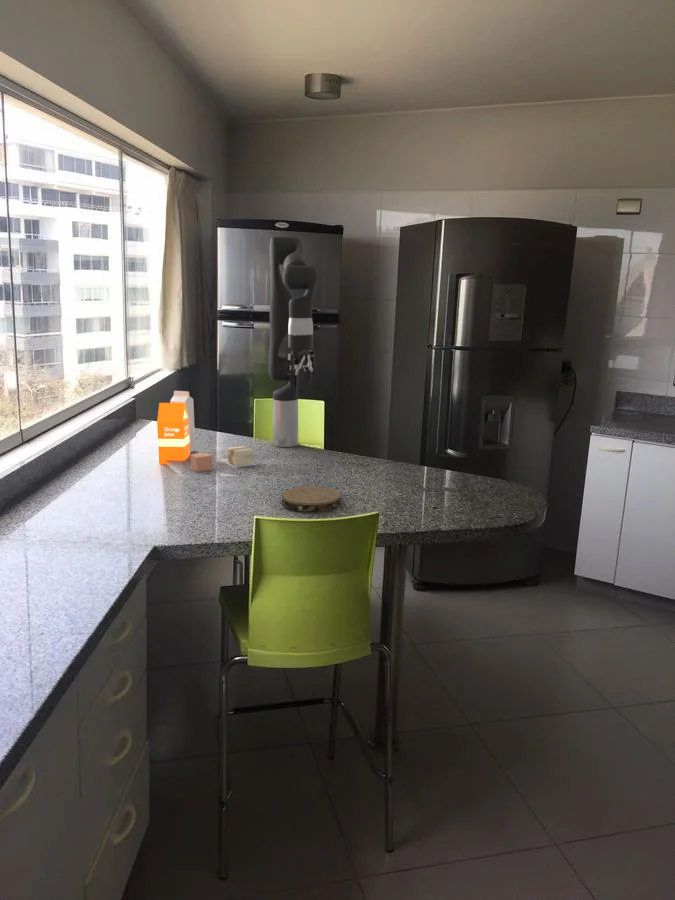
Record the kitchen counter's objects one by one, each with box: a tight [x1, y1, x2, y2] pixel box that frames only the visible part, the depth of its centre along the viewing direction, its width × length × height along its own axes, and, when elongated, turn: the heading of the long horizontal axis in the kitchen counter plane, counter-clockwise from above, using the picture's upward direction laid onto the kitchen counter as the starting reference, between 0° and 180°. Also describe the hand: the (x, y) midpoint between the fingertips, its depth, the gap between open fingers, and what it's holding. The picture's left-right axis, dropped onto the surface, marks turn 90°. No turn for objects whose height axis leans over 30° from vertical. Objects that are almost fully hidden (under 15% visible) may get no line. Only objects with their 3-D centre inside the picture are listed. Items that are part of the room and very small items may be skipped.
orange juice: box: [156, 402, 191, 465], centre depth 240 cm, size 8×9×20 cm
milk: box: [169, 390, 196, 454], centre depth 252 cm, size 6×6×22 cm
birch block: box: [227, 445, 254, 468], centre depth 234 cm, size 6×6×5 cm
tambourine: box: [281, 486, 341, 514], centre depth 196 cm, size 16×16×3 cm
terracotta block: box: [190, 452, 213, 473], centre depth 227 cm, size 5×5×6 cm
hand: (301, 385), depth 223 cm, fingers open, 8 cm apart
